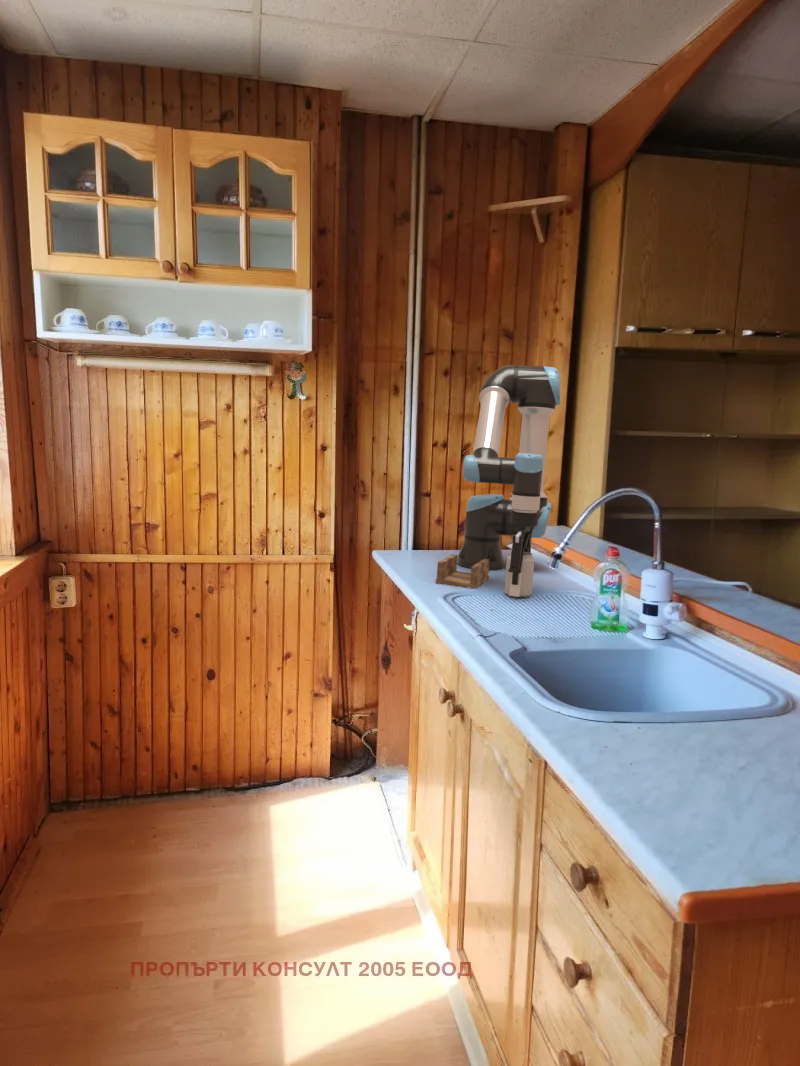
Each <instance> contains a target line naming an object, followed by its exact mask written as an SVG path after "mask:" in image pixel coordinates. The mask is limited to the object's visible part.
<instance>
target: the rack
mask: <svg viewBox="0 0 800 1066" xmlns="http://www.w3.org/2000/svg"><path fill="white" fill-rule="evenodd" d="M458 555H459V554H451V555H449V556H447V557H445V558H443V559H441V560H439V561H437V569H436V571H437V572H436V578H435V584H438V583H440V584H439V585H445V584H447V586H452V585H454V586H453V587H459V586H461V588H466V587H470V588H469V589H473V588H476V589H478V588H479V587H481V586H482V585H483V584H484V582H485V581H486V582H487V581H489V580H488V579H490V575H489V559H483V560H481V561H480V562H478V563H477V564H475V565H473V566H472V567H471V568H470V572H467V571H466V572H465V571H458V570H457V569H458V564H457V559H458ZM486 582H485V583H486ZM482 583H483V584H482ZM481 584H482V585H481ZM480 585H481V586H480ZM478 586H479V587H478ZM477 587H478V588H477Z"/></svg>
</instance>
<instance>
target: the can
mask: <svg viewBox="0 0 800 1066" xmlns="http://www.w3.org/2000/svg"><path fill="white" fill-rule="evenodd" d="M511 553H512V550H511V551H510V552H509V555H507V557H506V564H505V580H504V588H503V589H504V593H505V594H506V595H507V596H509V593H510V581H511V572H508V569H509V568H510V562H511ZM534 569H535V558H534V556H533V553H532V552H531V553H529V552H524V555H523V560H522V567H521V573H522V575H521V587H520V597H525V598H528V597H530V596H531V594H532V593H533V581H534V571H535V570H534ZM527 596H528V597H527ZM512 598H517V597H516V596H513V597H512Z"/></svg>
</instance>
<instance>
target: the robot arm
mask: <svg viewBox="0 0 800 1066" xmlns="http://www.w3.org/2000/svg"><path fill="white" fill-rule="evenodd" d="M560 380H561V379H560V372H559V370H558V369H557V368H556V367H552V366H545V365H515V364H513V365H512V364H509V365H508V364H507V365H504V366H502V367H500V368H498V369H496V370H495V371H494V372H492V373H491V374H490V375H489V376H488V377H487V378H486V379H485V380H484V382H483V384H482V385H481V387H480V391H479V396H478V402H479V403H480V408H479V416H478V421H477V428H476V432H475V437H474V438H475V439H474V445H473V452H472V454H467V455H465V456H464V459H463V466H462V477H463V479H464V481H466V482H472V483H485V484H501V485H511V486H512V492H511V493H510V498H509V499H505V496H504V494H500V493H489V494H478V495H473V496H470V497H469V498H468V499H467V500H466V501H467V503H466V508H465V513H466V514H465V523H464V524H465V526H464V539H463V542H462V545H461V548H460V550H459V553H458V554H457V555H458V556H457V566H460V567H464V568H467V569H471V567H472V566H473V565H475V564H477V563H478V562H480V561H481V560H483V559H489V570H490V571H491V570H499V569H503V568H504V565H505V559H504V556H503V552H502V546H501V536H507V537H512V547H511V551H512V553H511V562H510V568H509V569H508V572H511V581H510V593H509V595H508V597H511V596H516V597H515V598H517V597H520V587H521V575H522V573H521V567H522V560H523V555H524V552H529V553H532V549H531V548H532V539H535V538H536V539H540V538H543V537H544V536H545V534H546V530H547V527H548V522H549V518H550V513H551V508H552V503H551V502H550V501H548V496H547V495H546V493H545V492H544V486H545V485H544V483H545V474H546V473H545V472H546V471H545V470H546V460H547V450H548V448H547V447H548V438H549V429H550V428H549V427H550V416H551V415H552V414H553V413H554V412H555V411H556V406H559V405H561V383H560V382H561V381H560ZM510 403H512V404H513V403H514V404H518V405H517V410H518V411H519V412H520V413H521V425H520V435H519V436H520V438H519V450H518V453H516V455H515V457H502V456H500V449H501V444H502V443H501V441H502V435H503V428H504V427H503V426H504V422H505V421H504V420H505V411H506V408H507V407H508V405H509V404H510ZM499 456H500V457H499Z"/></svg>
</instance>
